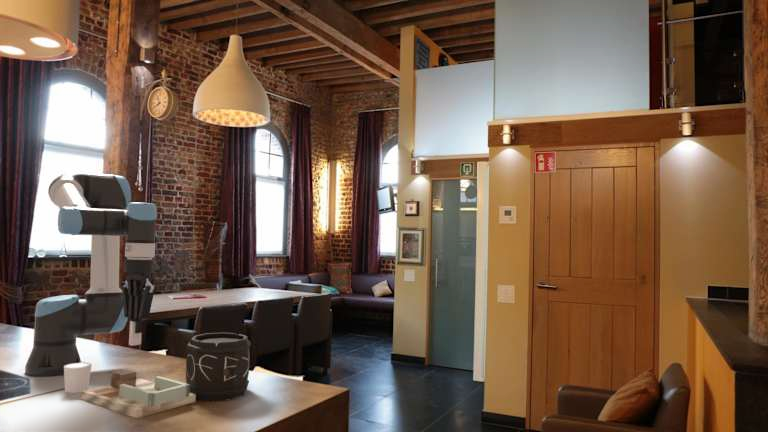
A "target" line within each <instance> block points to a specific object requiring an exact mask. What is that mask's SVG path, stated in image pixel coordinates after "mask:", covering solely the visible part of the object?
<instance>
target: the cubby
mask: <svg viewBox="0 0 768 432" xmlns="http://www.w3.org/2000/svg"><path fill="white" fill-rule="evenodd" d="M154 383H155V385H154V388H157V389H160V391H156V392H150V391H146V390H143V389H140V388H136V387H133V386H130V385H126V384H121V385H120V389H119V396H120V397H123V398H126V399H129V400H132V401H135V402H138V403H141V404H144V405H147V406H150V407H151V406H155V405H158V404H162V403H166V402H169V401H173V400H177V399H180V398H184V397H188V396H190V384H186V382H183V381H182V382H181V381H178V380H174V379H172V378H171V379H170V378H167V377H163V376H160V375H157V376H155V377H154Z"/></svg>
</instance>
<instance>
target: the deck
mask: <svg viewBox="0 0 768 432" xmlns="http://www.w3.org/2000/svg"><path fill="white" fill-rule="evenodd" d="M154 385H155V381H150V380H146V379H143V378H136V386H135V387H136V388H140V389H143V390H146V391H150V392H156V391H160V389H157V388H154ZM80 397H81V398H80V399H81V400H84V401H87V402H88V403H89V402H90V403H93V404H95V405H98V406H100V407H104V408H106V409H109V410H112V411H115V412H117V413H121V414H124V415H126V416H129V417H132V418H135V419H140V418H144V417H147V416H148V417H149V416H150V415H155V414H157V413H160V412H165V411H168V410H172V409H175V408H179V407H182V406H185V405H188V404H193V403H195V402H196V401H197V400H196V394H193V393H190V396H188V397H184V398H180V399H177V400H173V401H169V402H166V403H162V404H158V405H155V406H151V407H150V406H147V405H144V404H141V403H138V402H135V401H132V400H129V399H126V398H123V397H120V396H119V389H116V388H113V387H111V384H108V385H104V386H100V387H95V388H89V389H88V390H85V391H82V392H81V396H80Z"/></svg>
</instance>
